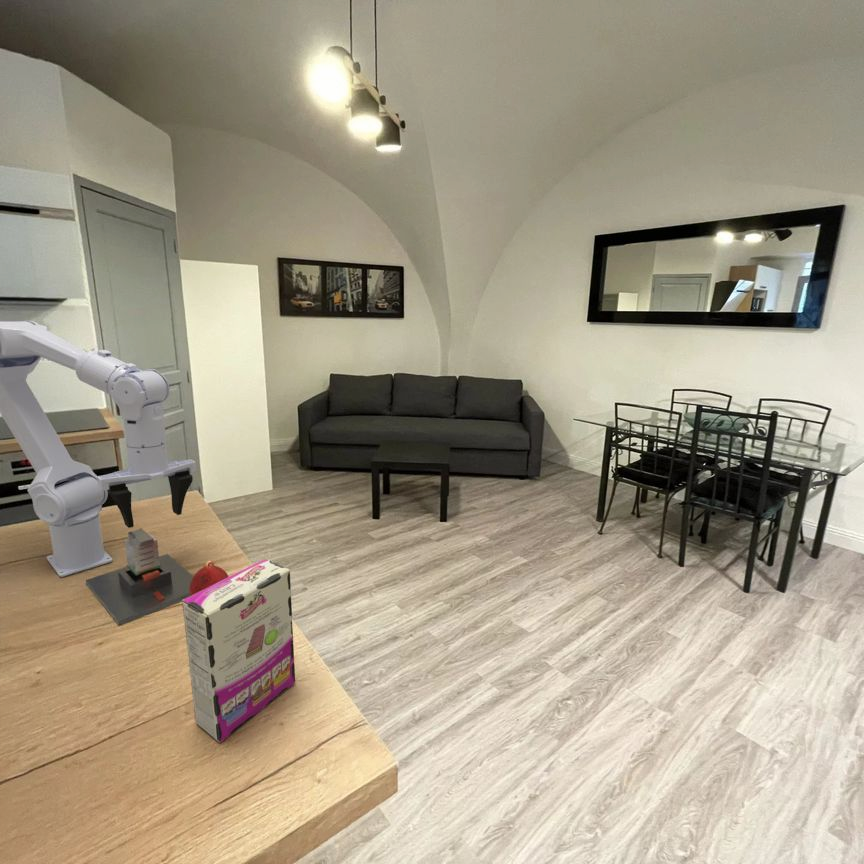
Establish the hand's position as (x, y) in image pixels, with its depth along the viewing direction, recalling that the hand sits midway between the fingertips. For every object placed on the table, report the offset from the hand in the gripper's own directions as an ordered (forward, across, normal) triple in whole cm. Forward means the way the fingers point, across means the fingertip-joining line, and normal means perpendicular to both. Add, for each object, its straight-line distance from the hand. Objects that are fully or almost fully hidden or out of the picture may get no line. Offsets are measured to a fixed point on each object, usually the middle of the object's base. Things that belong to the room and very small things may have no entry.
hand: (154, 519), depth 83 cm
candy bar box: (+10, -4, -38) cm, 40 cm away
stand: (+10, -3, -3) cm, 11 cm away
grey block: (+8, -3, -3) cm, 9 cm away
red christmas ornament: (+11, +2, -16) cm, 20 cm away
